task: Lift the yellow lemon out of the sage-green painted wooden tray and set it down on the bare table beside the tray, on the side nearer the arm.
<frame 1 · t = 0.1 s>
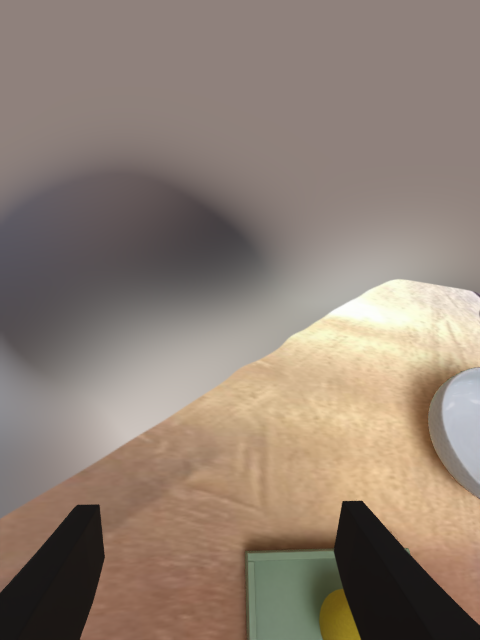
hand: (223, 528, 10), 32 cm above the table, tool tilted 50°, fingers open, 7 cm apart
tray: (330, 616, 33), on the table
cereal bowl: (471, 444, 44), on the table
lemon: (336, 616, 33), resting on tray
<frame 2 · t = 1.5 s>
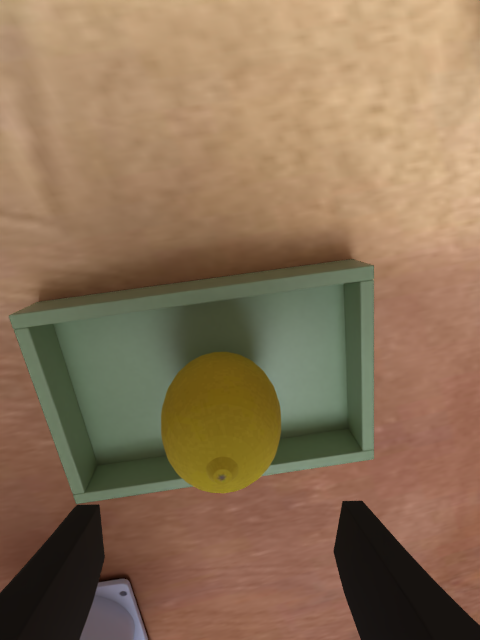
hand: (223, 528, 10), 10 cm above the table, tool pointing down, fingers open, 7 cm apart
tray: (212, 373, 20), on the table
lemon: (220, 373, 19), resting on tray
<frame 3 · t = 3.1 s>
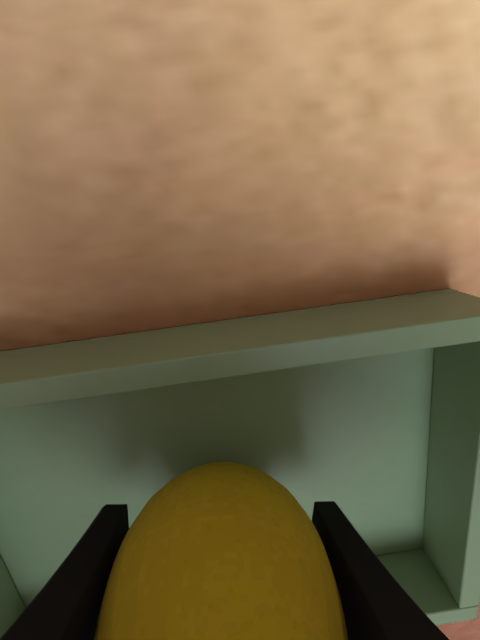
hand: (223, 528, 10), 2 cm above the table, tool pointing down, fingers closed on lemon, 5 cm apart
tray: (208, 471, 12), on the table
lemon: (220, 473, 12), resting on tray, touching gripper
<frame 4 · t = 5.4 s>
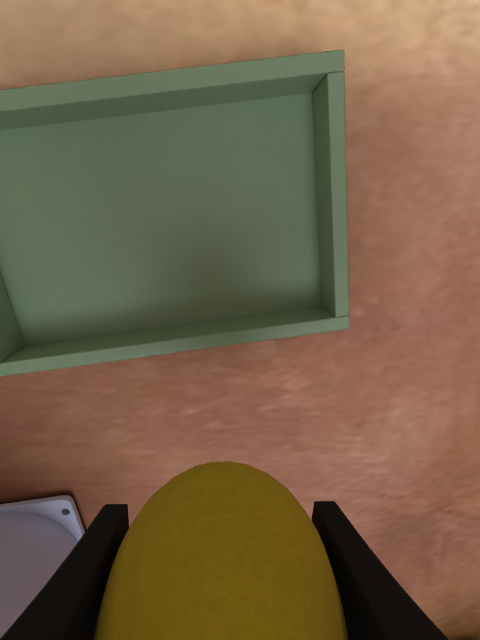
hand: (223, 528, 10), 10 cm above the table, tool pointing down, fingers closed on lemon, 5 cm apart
tray: (158, 229, 16), on the table
lemon: (220, 473, 12), point 8 cm above the table, touching gripper
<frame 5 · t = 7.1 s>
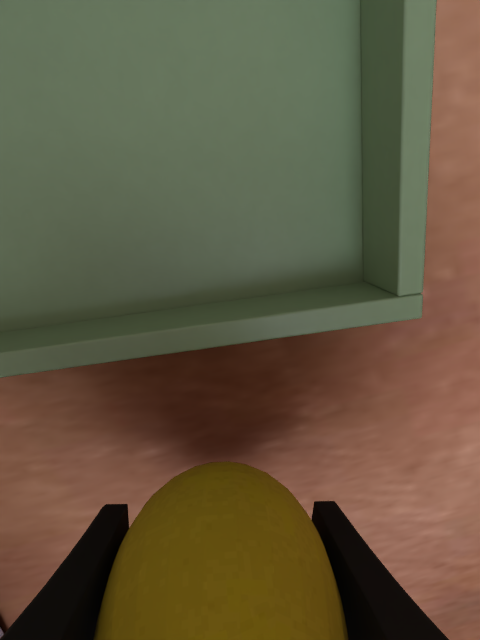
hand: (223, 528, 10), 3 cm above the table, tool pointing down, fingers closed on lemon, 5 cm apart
tray: (80, 145, 9), on the table
lemon: (220, 473, 12), point 1 cm above the table, touching gripper
when the fingers open (2 cm above the table, at t = 8.1 s): lemon stays where it is, on the table.
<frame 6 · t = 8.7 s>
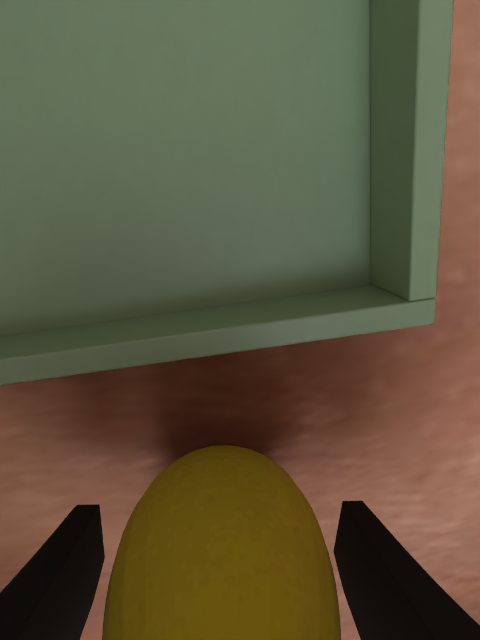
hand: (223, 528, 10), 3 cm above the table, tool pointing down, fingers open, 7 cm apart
tray: (72, 141, 9), on the table
lemon: (221, 459, 12), on the table
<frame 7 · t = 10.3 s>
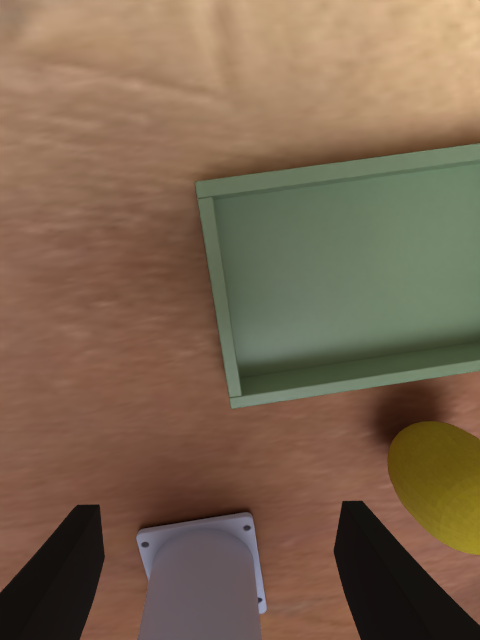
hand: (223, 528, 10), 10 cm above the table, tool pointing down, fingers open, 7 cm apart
tray: (366, 274, 19), on the table
lemon: (404, 432, 22), on the table
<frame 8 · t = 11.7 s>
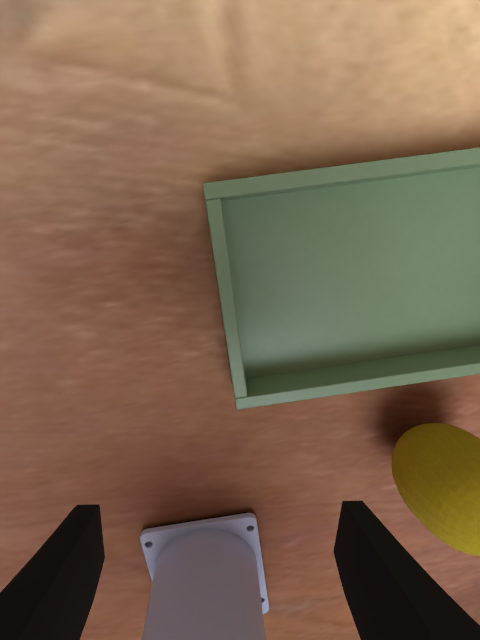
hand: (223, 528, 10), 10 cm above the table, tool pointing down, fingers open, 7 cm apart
tray: (372, 276, 19), on the table
lemon: (408, 434, 22), on the table
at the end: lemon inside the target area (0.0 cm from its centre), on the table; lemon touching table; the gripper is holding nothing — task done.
